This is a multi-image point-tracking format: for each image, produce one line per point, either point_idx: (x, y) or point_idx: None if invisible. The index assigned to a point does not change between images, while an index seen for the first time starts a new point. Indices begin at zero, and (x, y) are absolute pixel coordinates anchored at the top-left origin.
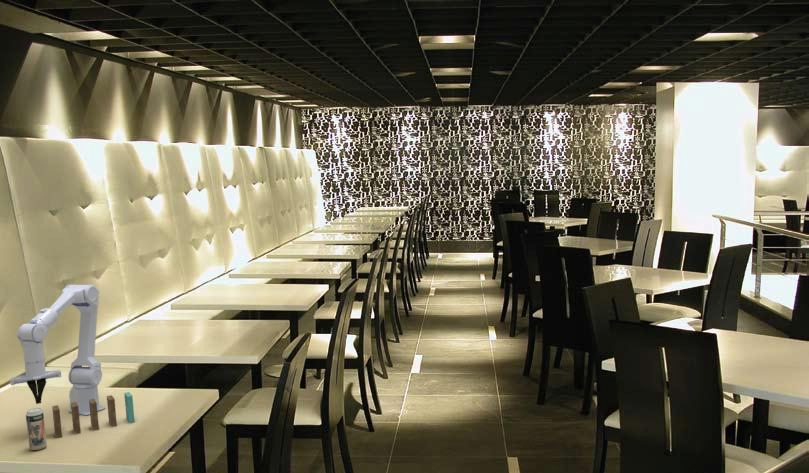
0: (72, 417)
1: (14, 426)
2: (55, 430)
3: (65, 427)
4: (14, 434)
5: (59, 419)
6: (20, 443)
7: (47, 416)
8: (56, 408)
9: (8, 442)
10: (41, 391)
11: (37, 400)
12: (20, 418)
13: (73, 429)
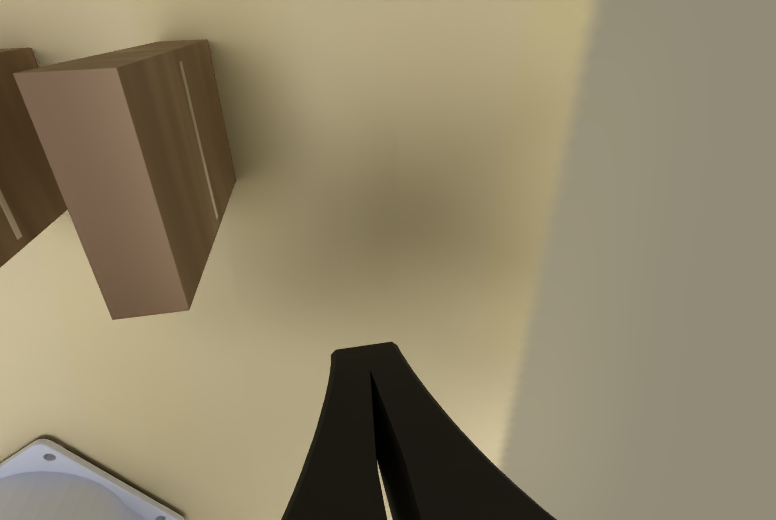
0: (3, 202)
1: (472, 417)
2: (206, 93)
3: None
4: (491, 297)
5: (102, 57)
6: (486, 85)
7: None
8: (91, 166)
9: (550, 161)
10: (315, 511)
11: (386, 371)
12: None
13: None
